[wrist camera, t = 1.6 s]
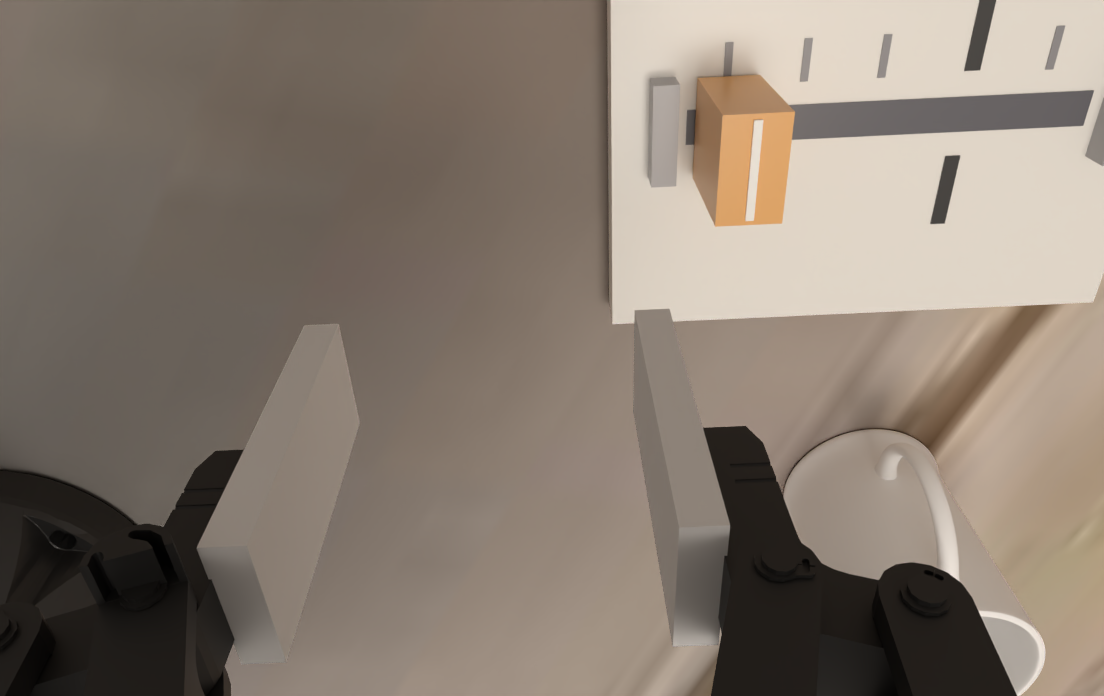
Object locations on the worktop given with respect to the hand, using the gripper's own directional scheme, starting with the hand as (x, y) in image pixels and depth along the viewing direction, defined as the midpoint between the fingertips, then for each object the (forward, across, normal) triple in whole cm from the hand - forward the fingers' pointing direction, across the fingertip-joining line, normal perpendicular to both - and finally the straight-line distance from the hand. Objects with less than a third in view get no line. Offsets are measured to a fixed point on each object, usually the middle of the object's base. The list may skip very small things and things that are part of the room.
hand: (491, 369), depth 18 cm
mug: (+19, +18, -20) cm, 33 cm away
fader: (+17, +8, 0) cm, 19 cm away
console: (+19, +15, -1) cm, 24 cm away
